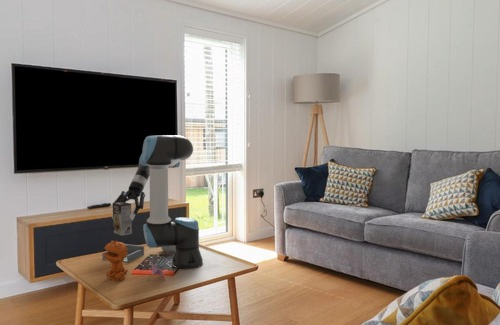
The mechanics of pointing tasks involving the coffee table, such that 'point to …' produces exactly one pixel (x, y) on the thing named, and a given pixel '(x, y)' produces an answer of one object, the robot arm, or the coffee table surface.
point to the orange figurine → (116, 260)
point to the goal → (131, 252)
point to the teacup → (169, 249)
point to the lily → (156, 270)
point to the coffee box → (122, 218)
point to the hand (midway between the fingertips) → (121, 218)
